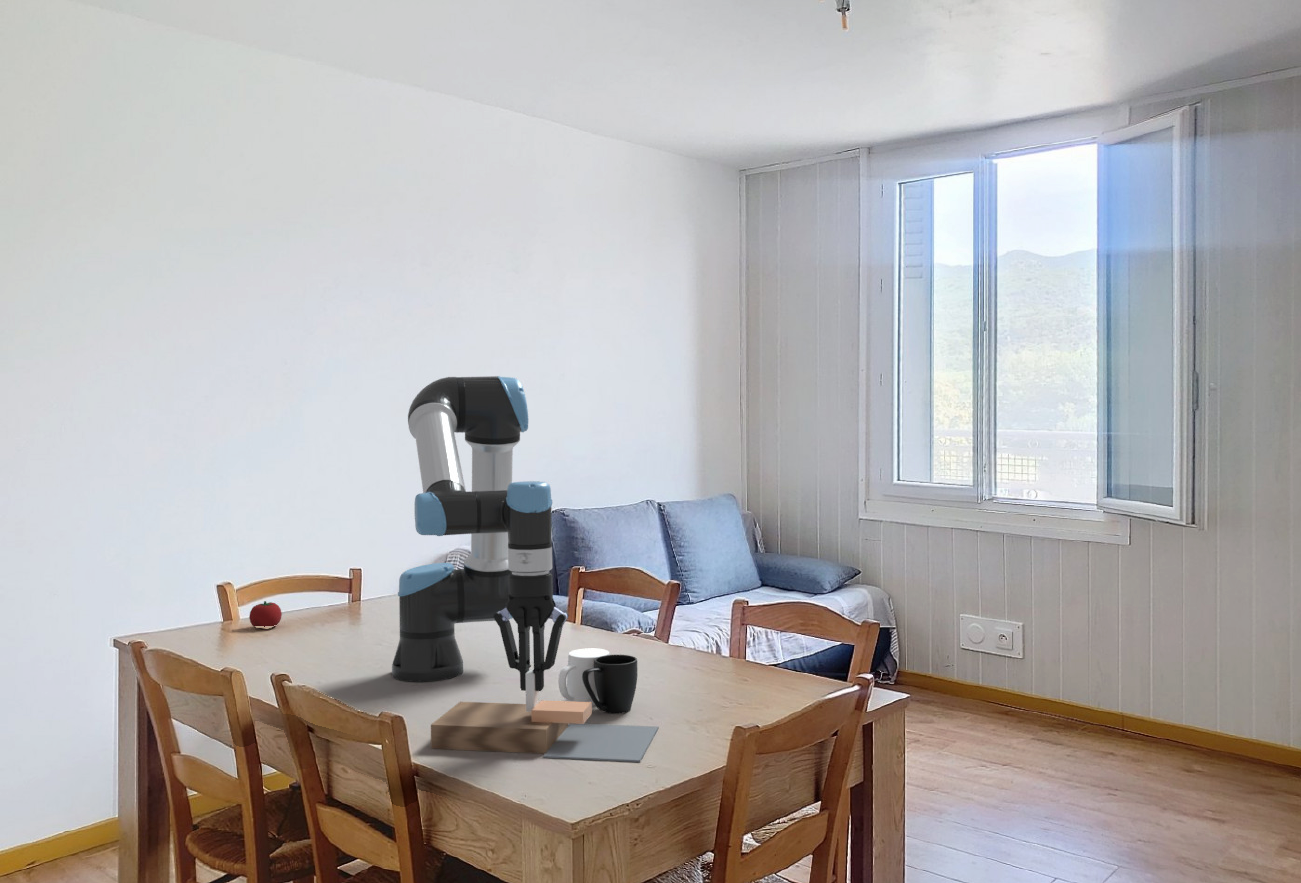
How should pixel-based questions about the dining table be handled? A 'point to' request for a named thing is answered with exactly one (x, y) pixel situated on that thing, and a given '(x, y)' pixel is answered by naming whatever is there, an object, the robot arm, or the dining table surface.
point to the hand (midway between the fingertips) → (532, 709)
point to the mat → (602, 742)
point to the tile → (561, 712)
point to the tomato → (265, 614)
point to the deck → (493, 729)
